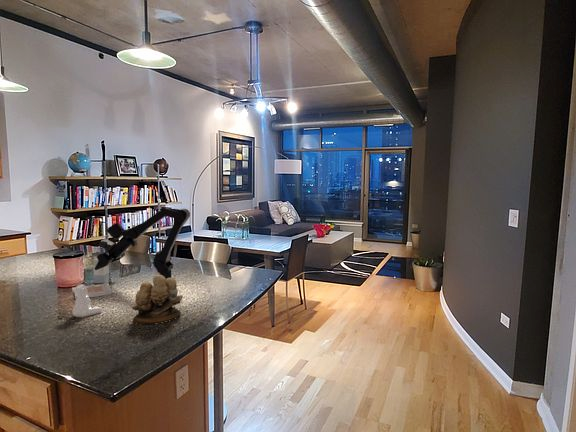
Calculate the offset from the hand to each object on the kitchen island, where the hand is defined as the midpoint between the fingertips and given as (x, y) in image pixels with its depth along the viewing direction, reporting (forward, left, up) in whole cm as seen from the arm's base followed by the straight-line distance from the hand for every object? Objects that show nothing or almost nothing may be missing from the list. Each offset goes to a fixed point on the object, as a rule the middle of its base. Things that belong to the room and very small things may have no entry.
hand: (100, 267), depth 176 cm
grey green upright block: (0, 0, -7) cm, 7 cm away
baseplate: (-15, +8, -7) cm, 19 cm away
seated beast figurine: (-41, +19, -8) cm, 46 cm away
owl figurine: (-63, 0, -8) cm, 63 cm away
